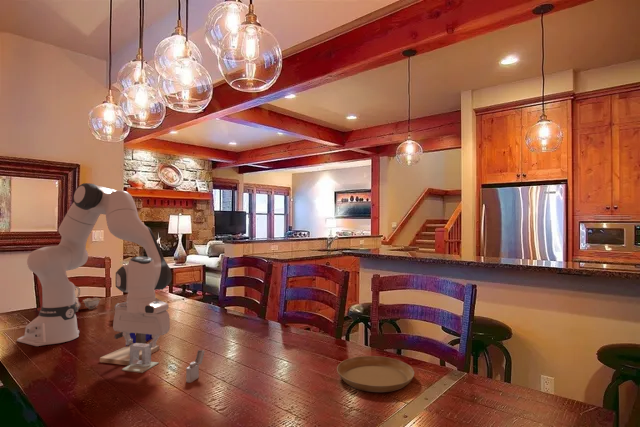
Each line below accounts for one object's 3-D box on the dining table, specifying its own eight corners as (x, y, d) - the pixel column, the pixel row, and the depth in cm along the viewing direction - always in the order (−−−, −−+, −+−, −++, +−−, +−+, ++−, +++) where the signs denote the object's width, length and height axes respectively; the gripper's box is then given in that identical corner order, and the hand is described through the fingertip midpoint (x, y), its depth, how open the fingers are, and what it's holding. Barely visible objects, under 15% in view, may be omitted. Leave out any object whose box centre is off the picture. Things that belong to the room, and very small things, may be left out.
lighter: (190, 382, 114) (190, 356, 114) (185, 382, 114) (186, 356, 115) (204, 373, 121) (204, 349, 121) (200, 373, 121) (200, 348, 121)
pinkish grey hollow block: (129, 366, 126) (129, 345, 126) (136, 363, 128) (136, 342, 129) (144, 368, 124) (145, 347, 124) (150, 364, 127) (151, 344, 127)
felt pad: (121, 370, 123) (121, 369, 123) (139, 361, 131) (139, 360, 131) (142, 372, 121) (142, 371, 121) (158, 363, 129) (158, 362, 129)
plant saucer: (336, 364, 130) (336, 354, 130) (405, 365, 129) (405, 355, 129) (337, 396, 106) (337, 385, 106) (422, 398, 105) (422, 386, 105)
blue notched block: (144, 337, 158) (144, 323, 158) (153, 338, 157) (153, 324, 157) (122, 346, 147) (122, 331, 147) (132, 347, 145) (132, 332, 146)
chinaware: (68, 322, 186) (72, 289, 186) (37, 318, 187) (40, 285, 187) (104, 309, 214) (107, 280, 214) (76, 305, 215) (79, 277, 215)
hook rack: (99, 361, 130) (100, 327, 131) (133, 346, 146) (133, 316, 146) (128, 365, 127) (128, 330, 128) (159, 349, 143) (159, 318, 143)
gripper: (108, 305, 126) (108, 346, 126) (160, 308, 121) (160, 351, 121) (122, 301, 132) (122, 340, 132) (172, 304, 127) (172, 345, 127)
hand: (140, 345), depth 126 cm, fingers open, 8 cm apart
